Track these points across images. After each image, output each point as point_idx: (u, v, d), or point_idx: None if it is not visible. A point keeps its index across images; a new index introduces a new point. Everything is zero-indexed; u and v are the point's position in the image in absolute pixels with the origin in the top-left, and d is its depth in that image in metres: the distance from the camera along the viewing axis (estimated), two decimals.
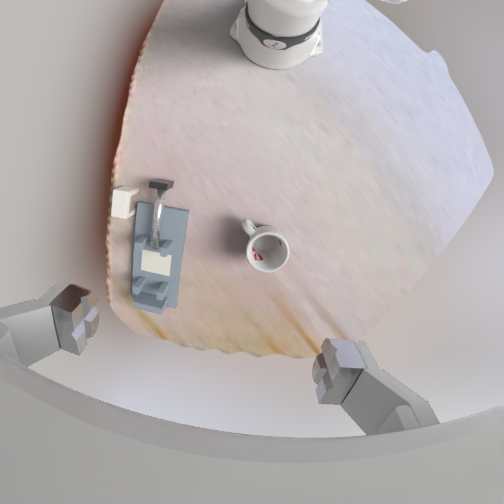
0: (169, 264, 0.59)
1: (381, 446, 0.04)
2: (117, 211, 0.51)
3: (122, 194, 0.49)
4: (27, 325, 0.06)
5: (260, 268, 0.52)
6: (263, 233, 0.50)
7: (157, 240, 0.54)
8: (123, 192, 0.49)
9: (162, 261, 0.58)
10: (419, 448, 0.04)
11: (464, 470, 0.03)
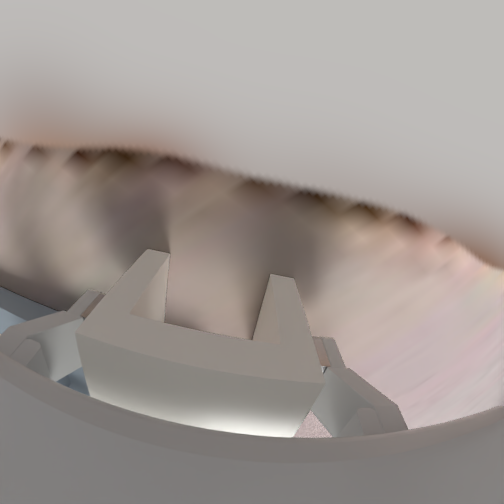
0: None
1: (381, 446, 0.04)
2: (128, 390, 0.05)
3: (268, 434, 0.06)
4: (58, 339, 0.06)
5: None
6: None
7: None
8: None
9: None
10: (419, 448, 0.04)
11: (464, 470, 0.03)
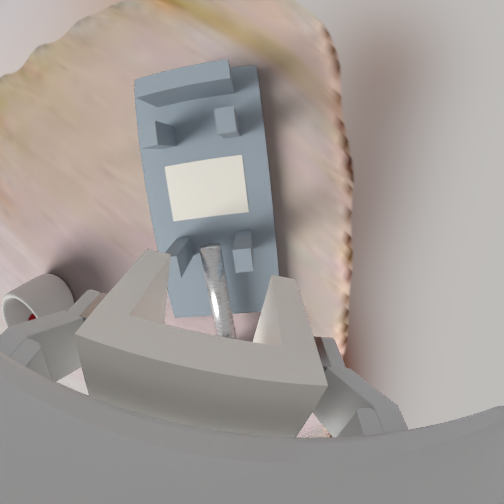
0: (172, 197, 0.24)
1: (381, 446, 0.04)
2: (128, 393, 0.05)
3: None
4: (58, 339, 0.06)
5: (15, 297, 0.21)
6: None
7: (204, 269, 0.23)
8: None
9: (190, 197, 0.24)
10: (419, 448, 0.04)
11: (465, 470, 0.03)
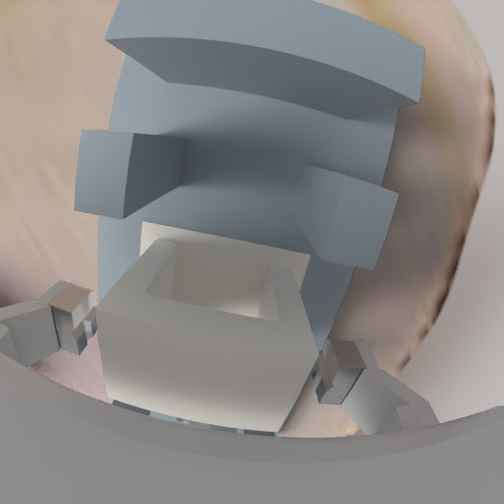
0: None
1: (381, 446, 0.04)
2: (140, 363, 0.06)
3: (267, 406, 0.07)
4: (27, 325, 0.06)
5: None
6: None
7: None
8: (280, 411, 0.07)
9: (178, 297, 0.12)
10: (419, 448, 0.04)
11: (464, 470, 0.03)
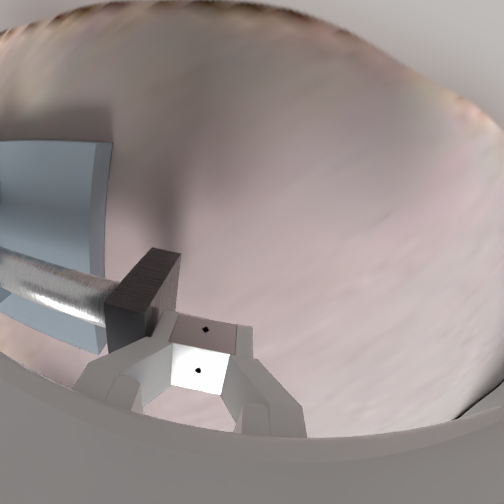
0: None
1: (381, 446, 0.04)
2: None
3: None
4: (147, 369, 0.06)
5: None
6: None
7: None
8: None
9: None
10: (419, 448, 0.04)
11: (464, 471, 0.03)
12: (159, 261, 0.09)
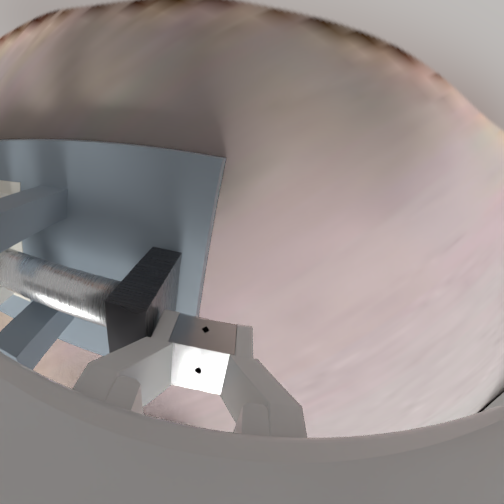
0: None
1: (381, 446, 0.04)
2: None
3: None
4: (147, 369, 0.06)
5: None
6: None
7: None
8: None
9: None
10: (419, 448, 0.04)
11: (464, 471, 0.03)
12: (160, 260, 0.09)
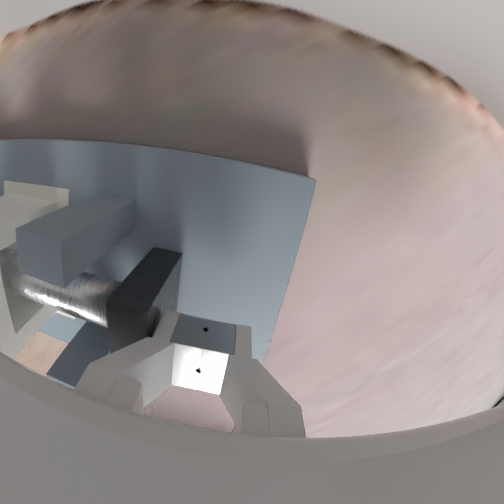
0: None
1: (381, 446, 0.04)
2: None
3: None
4: (148, 369, 0.06)
5: None
6: None
7: None
8: None
9: None
10: (419, 448, 0.04)
11: (464, 470, 0.03)
12: (161, 260, 0.09)
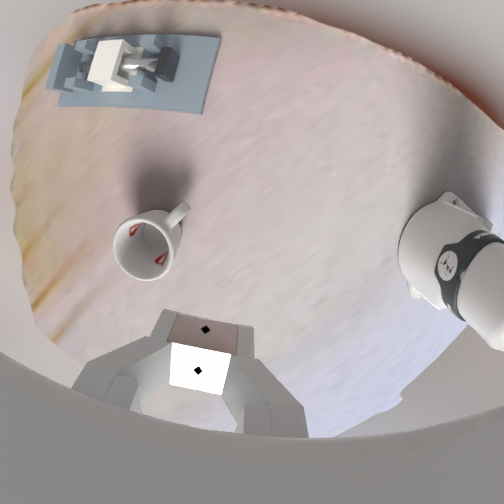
0: (118, 89, 0.29)
1: (381, 446, 0.04)
2: (98, 70, 0.24)
3: (111, 44, 0.23)
4: (146, 369, 0.06)
5: (117, 239, 0.30)
6: (170, 243, 0.30)
7: (89, 70, 0.25)
8: (114, 41, 0.22)
9: None
10: (419, 448, 0.04)
11: (464, 470, 0.03)
12: None
